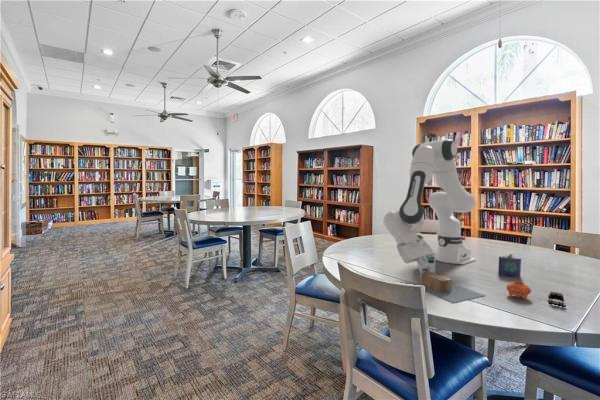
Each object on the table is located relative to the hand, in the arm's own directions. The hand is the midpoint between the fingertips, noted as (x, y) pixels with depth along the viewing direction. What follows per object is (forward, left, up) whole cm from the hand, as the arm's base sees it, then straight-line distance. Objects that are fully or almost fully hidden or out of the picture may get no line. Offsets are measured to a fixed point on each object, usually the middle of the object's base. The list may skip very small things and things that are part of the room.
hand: (427, 267), depth 135 cm
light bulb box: (-13, -13, -8) cm, 20 cm away
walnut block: (+1, -1, -5) cm, 5 cm away
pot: (-21, +26, -8) cm, 34 cm away
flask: (-45, +8, -8) cm, 46 cm away
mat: (-1, +11, -7) cm, 13 cm away
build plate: (-27, +36, -8) cm, 46 cm away
